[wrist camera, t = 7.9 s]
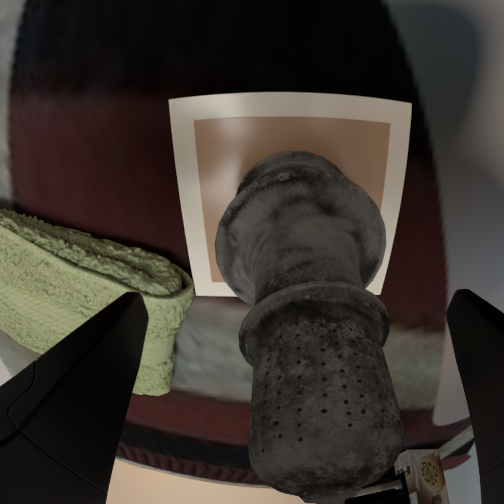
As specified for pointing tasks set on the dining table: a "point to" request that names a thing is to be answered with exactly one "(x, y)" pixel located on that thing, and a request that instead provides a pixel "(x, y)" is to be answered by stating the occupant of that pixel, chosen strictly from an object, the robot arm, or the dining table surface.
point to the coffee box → (423, 476)
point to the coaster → (277, 141)
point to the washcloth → (86, 290)
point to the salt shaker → (311, 327)
